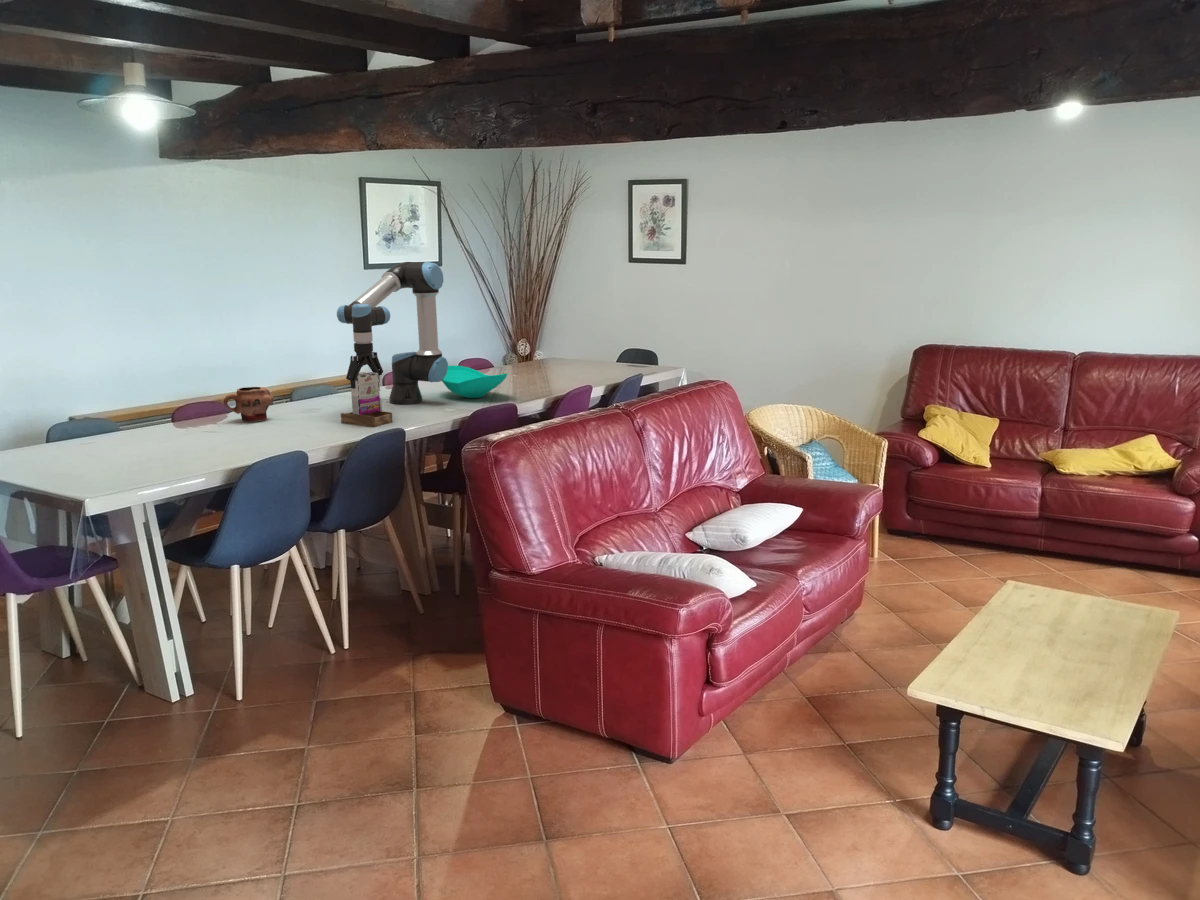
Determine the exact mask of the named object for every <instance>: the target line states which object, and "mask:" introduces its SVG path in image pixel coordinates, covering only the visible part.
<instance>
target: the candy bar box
mask: <svg viewBox="0 0 1200 900" xmlns="http://www.w3.org/2000/svg"><path fill="white" fill-rule="evenodd" d="M353 378H354V377H353ZM356 380H357V381H358V396H352V388H351V387H350V391H351V394H350V395H351V409H352V412H353V414H355V415H364V414H370V413H375V412H380V411H381V410H380V398H381V397H380V394H381V393H380V391H379V377H378V373H374V372H372V371H371V372H364V373H359V374H358V376H357V378H356Z"/></svg>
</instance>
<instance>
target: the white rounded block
mask: <svg viewBox="0 0 1200 900" xmlns="http://www.w3.org/2000/svg"><path fill="white" fill-rule="evenodd" d="M382 400H383V399H382V398H381V397H380V410H381V411H383V402H382Z"/></svg>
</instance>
